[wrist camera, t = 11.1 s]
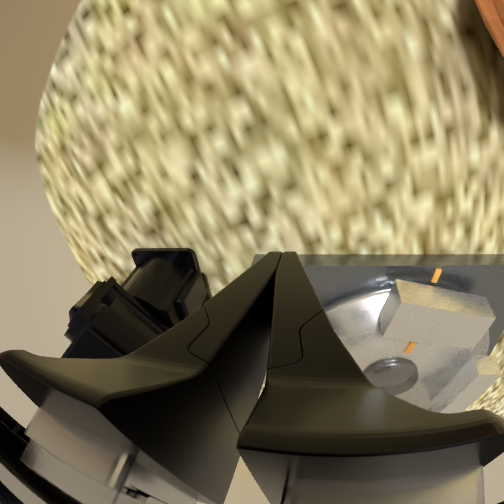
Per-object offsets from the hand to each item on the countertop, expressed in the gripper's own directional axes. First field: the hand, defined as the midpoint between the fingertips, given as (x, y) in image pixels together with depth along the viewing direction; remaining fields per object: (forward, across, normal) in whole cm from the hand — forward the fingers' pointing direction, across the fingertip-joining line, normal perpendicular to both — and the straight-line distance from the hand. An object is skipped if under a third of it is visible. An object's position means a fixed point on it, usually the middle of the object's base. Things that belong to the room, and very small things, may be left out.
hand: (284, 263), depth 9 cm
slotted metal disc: (+10, -8, +20) cm, 24 cm away
